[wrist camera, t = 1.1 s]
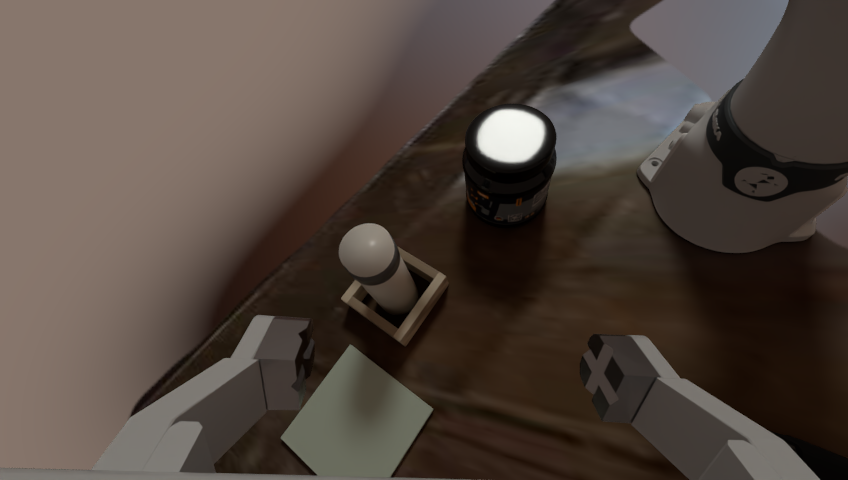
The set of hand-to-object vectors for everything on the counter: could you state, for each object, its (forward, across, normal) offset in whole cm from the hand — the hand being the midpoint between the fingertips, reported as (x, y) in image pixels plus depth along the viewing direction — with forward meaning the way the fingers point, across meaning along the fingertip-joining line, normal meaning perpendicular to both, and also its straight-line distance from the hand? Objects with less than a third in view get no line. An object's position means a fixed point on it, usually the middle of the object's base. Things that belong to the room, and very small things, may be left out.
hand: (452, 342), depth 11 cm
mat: (+18, +5, +30) cm, 35 cm away
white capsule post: (+29, +1, +20) cm, 36 cm away
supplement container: (+38, -12, +10) cm, 42 cm away
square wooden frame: (+29, +1, +20) cm, 36 cm away
